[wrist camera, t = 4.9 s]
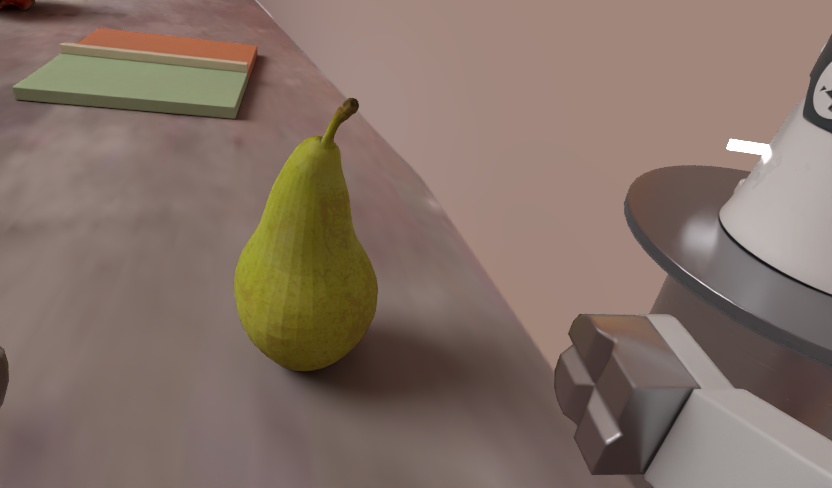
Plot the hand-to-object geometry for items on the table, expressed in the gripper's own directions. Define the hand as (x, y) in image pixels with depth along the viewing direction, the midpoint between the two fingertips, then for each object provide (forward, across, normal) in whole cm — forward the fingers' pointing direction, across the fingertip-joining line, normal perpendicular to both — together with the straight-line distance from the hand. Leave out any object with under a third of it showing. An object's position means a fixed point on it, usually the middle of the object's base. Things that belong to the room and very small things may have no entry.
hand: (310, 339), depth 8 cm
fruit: (+12, 0, +12) cm, 17 cm away
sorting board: (+49, +14, +12) cm, 52 cm away
